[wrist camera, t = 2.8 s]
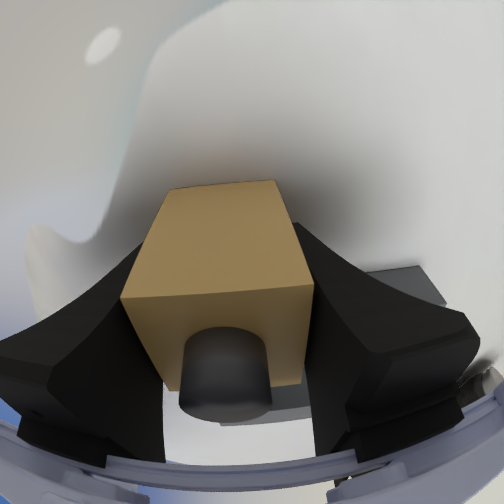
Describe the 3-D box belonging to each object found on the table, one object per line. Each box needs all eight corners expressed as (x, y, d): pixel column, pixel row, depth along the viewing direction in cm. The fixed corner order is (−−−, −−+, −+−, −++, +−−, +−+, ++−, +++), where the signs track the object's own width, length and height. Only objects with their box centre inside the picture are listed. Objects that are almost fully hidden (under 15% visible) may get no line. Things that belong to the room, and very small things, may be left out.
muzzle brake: (326, 454, 35) (336, 508, 27) (477, 354, 22) (512, 425, 13) (364, 450, 38) (375, 497, 30) (495, 360, 25) (523, 416, 16)
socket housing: (220, 389, 19) (221, 426, 16) (191, 289, 13) (184, 338, 11) (377, 368, 19) (388, 400, 17) (419, 265, 13) (446, 302, 11)
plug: (187, 272, 13) (165, 434, 6) (169, 189, 10) (99, 355, 4) (275, 265, 13) (308, 427, 6) (274, 179, 10) (333, 343, 4)
